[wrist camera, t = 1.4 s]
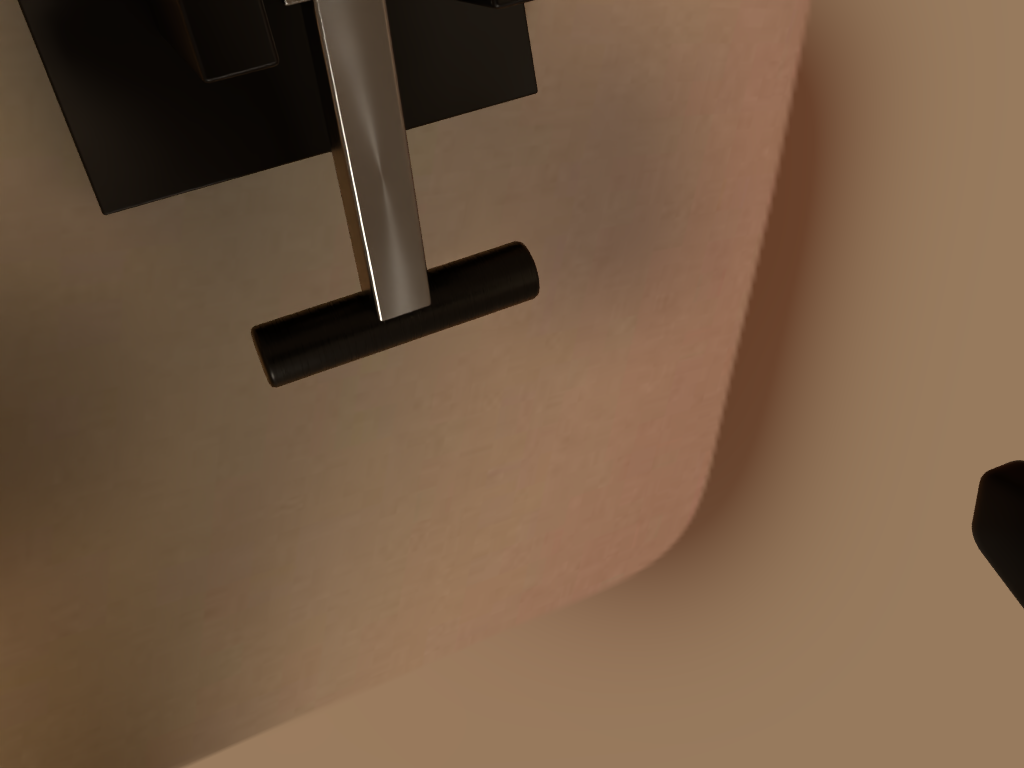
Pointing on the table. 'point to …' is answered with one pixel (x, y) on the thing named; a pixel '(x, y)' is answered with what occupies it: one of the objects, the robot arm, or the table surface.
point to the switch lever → (379, 215)
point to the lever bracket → (246, 82)
